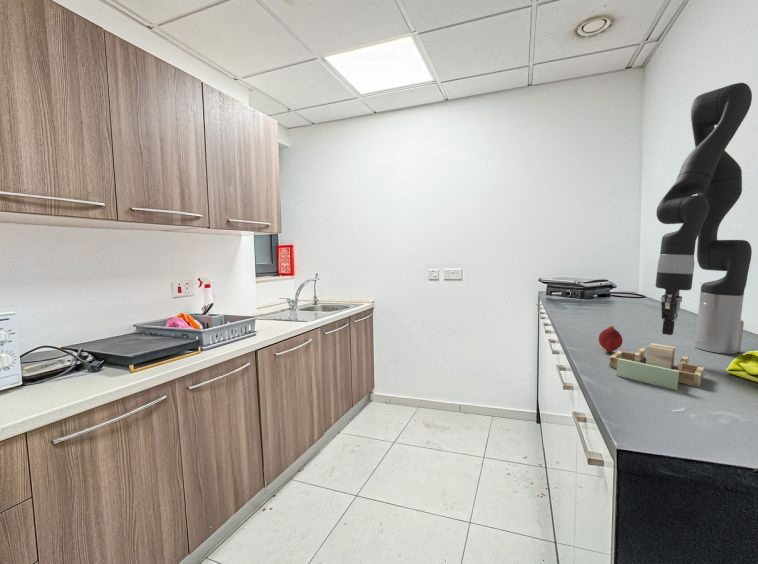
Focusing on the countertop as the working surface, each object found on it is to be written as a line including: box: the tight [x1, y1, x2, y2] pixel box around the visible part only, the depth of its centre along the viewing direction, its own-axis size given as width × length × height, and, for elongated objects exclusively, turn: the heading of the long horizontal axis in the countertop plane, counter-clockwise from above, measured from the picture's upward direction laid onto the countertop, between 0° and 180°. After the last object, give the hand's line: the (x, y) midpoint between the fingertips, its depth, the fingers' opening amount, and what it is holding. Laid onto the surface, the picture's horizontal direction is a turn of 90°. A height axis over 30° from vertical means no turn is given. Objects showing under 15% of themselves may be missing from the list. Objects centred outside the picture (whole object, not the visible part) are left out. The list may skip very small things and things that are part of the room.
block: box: [645, 342, 676, 369], centre depth 90 cm, size 5×5×5 cm
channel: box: [608, 347, 705, 388], centre depth 86 cm, size 22×17×2 cm
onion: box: [598, 324, 623, 353], centre depth 100 cm, size 6×6×8 cm
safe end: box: [615, 358, 679, 391], centre depth 78 cm, size 1×11×4 cm, turn 43°
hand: (667, 334), depth 95 cm, fingers closed
